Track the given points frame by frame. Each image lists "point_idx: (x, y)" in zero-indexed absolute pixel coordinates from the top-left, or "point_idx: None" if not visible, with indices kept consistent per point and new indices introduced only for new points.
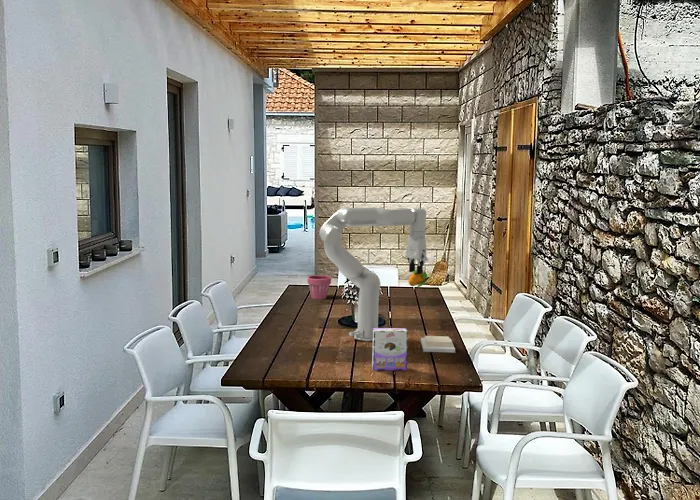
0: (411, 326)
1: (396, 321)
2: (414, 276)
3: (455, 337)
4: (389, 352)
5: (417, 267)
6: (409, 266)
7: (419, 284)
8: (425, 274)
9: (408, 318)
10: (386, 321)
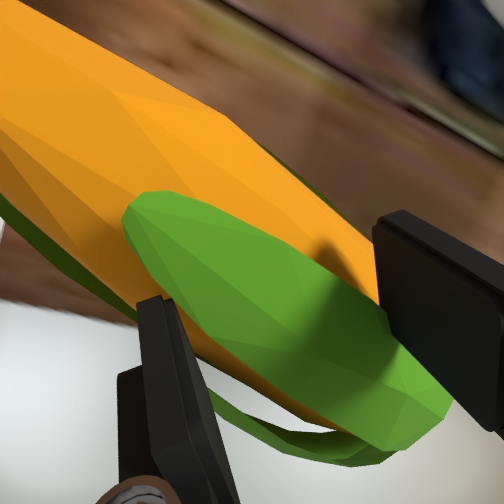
0: (351, 199)
1: (458, 170)
2: (53, 185)
3: (89, 317)
4: None
5: (152, 397)
6: (479, 258)
7: (15, 221)
8: (254, 436)
9: (476, 243)
10: (479, 122)
